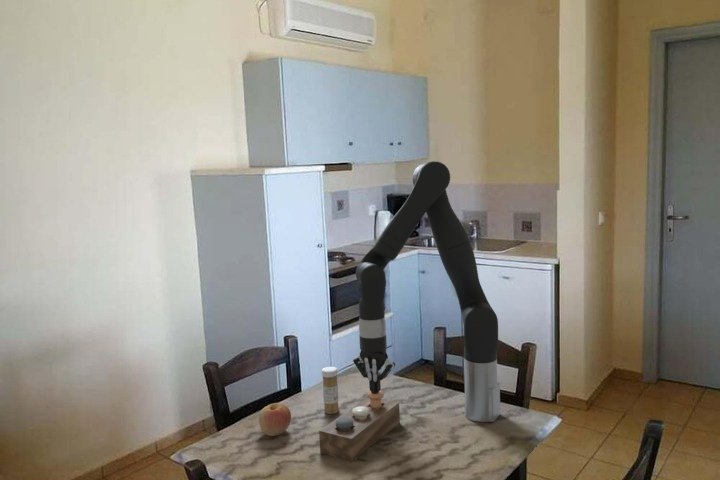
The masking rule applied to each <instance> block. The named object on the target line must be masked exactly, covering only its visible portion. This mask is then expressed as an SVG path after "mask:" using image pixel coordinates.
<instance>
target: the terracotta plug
mask: <svg viewBox="0 0 720 480" xmlns="http://www.w3.org/2000/svg"><path fill="white" fill-rule="evenodd" d="M366 393H367V397H368V398H370V407H371V408H376V409H379V408H381V407H382V402H381V399H383V398H384V391H383V390H380V391H379V392H378V393H377V394H374V393H371V391H370V390H368V391H367V392H366ZM367 397H366V398H367Z"/></svg>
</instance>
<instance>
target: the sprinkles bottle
mask: <svg viewBox="0 0 720 480" xmlns="http://www.w3.org/2000/svg"><path fill="white" fill-rule="evenodd" d="M321 376H322V389H323V402H324V403H323V405H324V406H323V407H324V408H323V410H324V413H325V414H328V415H333V414H337V413H339V411H340V408H339V385H338V368H337V367H334V366H326V367H323V368H322V369H321Z"/></svg>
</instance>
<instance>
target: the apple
mask: <svg viewBox="0 0 720 480" xmlns="http://www.w3.org/2000/svg"><path fill="white" fill-rule="evenodd" d="M291 420H292V413H291V409H290V408H289V406H287V405H286V404H284V403H282V402H280V403H279V402H274V403H270V404H268V405H267V406H264V407H263V408H262V409H261V411H260V412H259V416H258V425H259V428H260V431H262V432H263V433H264V434H266V435H267V436H269V437H270V436H271V437H276V436H279V435H282V434H283V433H284V432H285V431H287V429H289V427H290V424H291Z"/></svg>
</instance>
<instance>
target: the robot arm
mask: <svg viewBox="0 0 720 480" xmlns="http://www.w3.org/2000/svg"><path fill="white" fill-rule="evenodd" d="M450 181H451V173H450V170H449V168H448V167H447V166H446V165H445V164H444V163H443V162H440V161H434V160H433V161H428V162H424V163H421V164H419V165H417V167H416V168H415V169H414V171H413V173H412V184H413V187H412V190H411V193H410V194H409V196H408V197H407V199H406V200H405V202H404V203H403V205H402V206H401V207H400V209H399V210H398V211H397V212H396V213H395V214H394V216H392V218H391V220H390V221H389V222H388V223H387V225H386V226H385V228H384V229H383V231H382V232H381V234H380V235H379V237H378V238H377V240H376V242H375V243H374V245H373V246H372V248H371V249H369V251H368V252H367V253H366V254H365V255H364V256H363V258H362V259H361V260H360V262H359V263H358V265H357V267H356V269H355V278H356V281H357V282H358V283H359V284H360V288H361V289H360V290H361V293H360V294H361V295H360V297H361V298H359V302H358V304H359V305H358V316H359V319H358V321H359V322H358V335H359V337H358V338H359V349H360V352H359V355H358V356H357V357H356V358H354V359H353V360H352V362H353V364H354V365H355V367H356V368H357V370H358V371H359V373H360V374H361V376H362V377H363V378H366V379H368V381H369V382H368V383H369V386H368V387H369V391H371V393H374V394H377V393H378V392H379V391H380V390H381V389H382V387H381V386H382V385H381V381H382V380H384V379H385V378H387V377H388V375H389V374H390V373H391V372H392V371H393V369H394V368H395V366H396V362H394V361H392V362H391V361H390V359H389V356H388V353H387V350H388V348H387V347H388V346H387V345H388V343H387V322H386V317H385V295H386V285H387V279H386V272H385V269H386V267H387V266H388V264H389V263H390V262H392V261H395V260H396V258H397V257H398V256H399V254H400V252H401V251H402V250H403V248H404V246H405V245H406V243H407V242H408V240H409V238H410V237H411V235H412V234H413V232H414V230H415V229H416V227H417V226H418V224H419V222H420V221H421V220H422V218H423V217H424V216H425V214H426V215H427V218H428V219H427V220H428V223H429V226H430V229H431V232H432V233H431V234H432V236H433V239H434V242H435V246H436V249H437V252H438V253H439V256H440V260H441V263H442V265H443V268H444V270H445V272H446V274H447V276H448V278H449V280H450V282H451V284H452V285H453V287H454V290H455V293H456V296H457V300H458V304H459V307H460V308H459V309H460V312H461V313H460V314H461V319H462V323H463V325H464V348H463V364H464V366H463V367H464V369H463V372H464V411H465V413H464V414H465V417H466V418H467V419H468V420H470V421H473V422H480V423H487V422H488V423H489V422H490V423H494V422H495V421H496V420H497V419H498V418H499V417H500V415H501V387H500V386H501V385H500V382H498V350H499V319H498V316H497V314H496V312H495V311H494V309H493V307H492V306H491V304H490V303H489V301H488V299H487V296H486V295H485V292H484V290H483V287H482V285H481V282H480V279H479V273H478V266H477V262H476V257H475V253H474V249H473V246H472V244H471V241H470V238H469V235H468V232H467V231H466V229H465V227H464V226H463V224H462V222H461V221H460V219H459V218H458V216H457V215H456V213H455V212H454V210H453V208H452V205H451V203H450V200H449V197H448V193H447V188H448V187H449V185H450ZM383 366H384V370H383Z"/></svg>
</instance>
